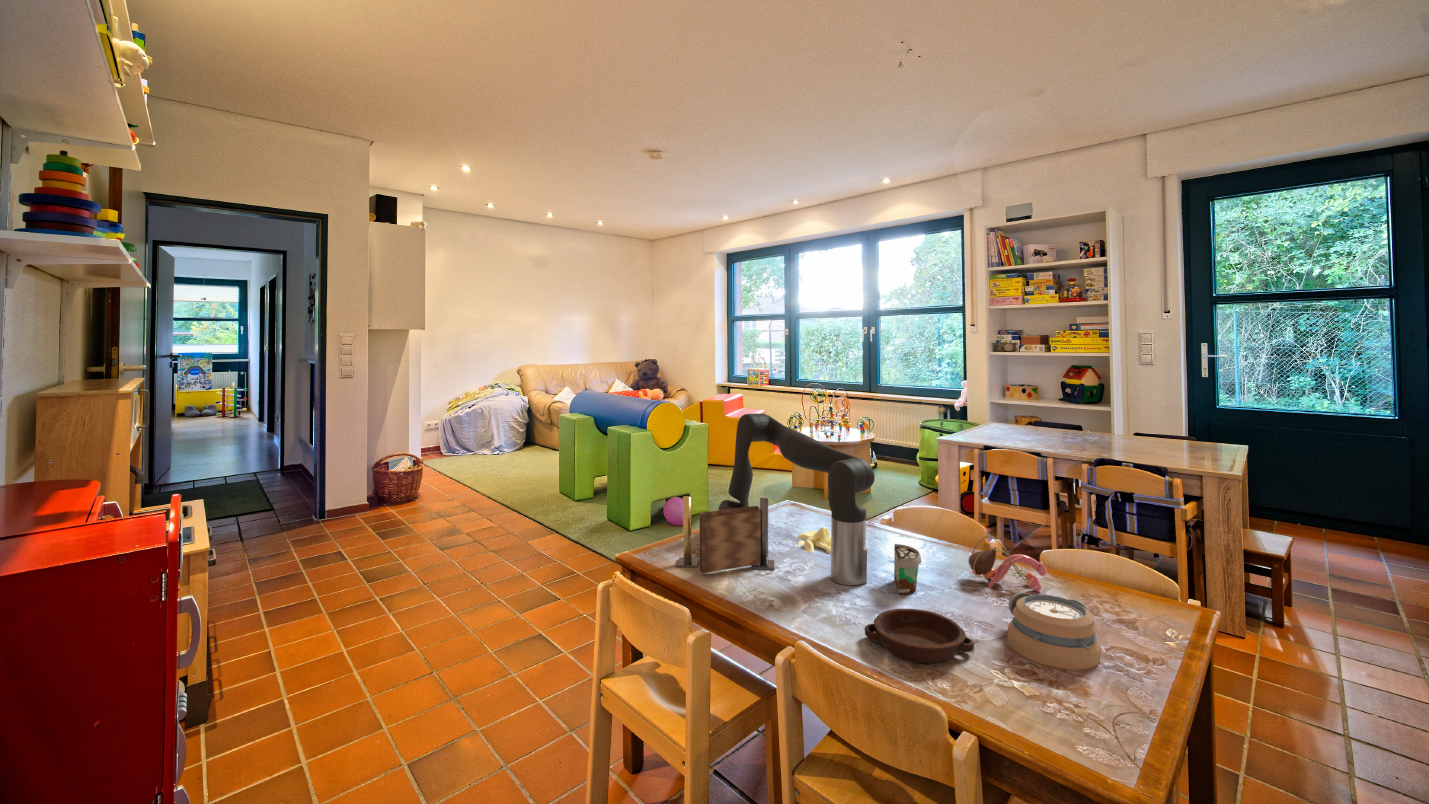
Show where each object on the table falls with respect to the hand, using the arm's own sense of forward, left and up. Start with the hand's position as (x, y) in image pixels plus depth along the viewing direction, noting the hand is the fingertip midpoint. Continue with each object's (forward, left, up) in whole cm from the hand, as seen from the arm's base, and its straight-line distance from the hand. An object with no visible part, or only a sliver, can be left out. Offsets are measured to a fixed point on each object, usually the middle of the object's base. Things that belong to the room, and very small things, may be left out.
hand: (725, 546), depth 164 cm
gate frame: (0, -4, -7) cm, 8 cm away
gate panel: (-2, 0, -6) cm, 6 cm away
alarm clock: (-73, +34, -7) cm, 81 cm away
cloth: (-29, -23, -8) cm, 38 cm away
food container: (-49, +9, -7) cm, 50 cm away
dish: (-44, +39, -7) cm, 59 cm away
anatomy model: (-75, +4, -7) cm, 76 cm away
